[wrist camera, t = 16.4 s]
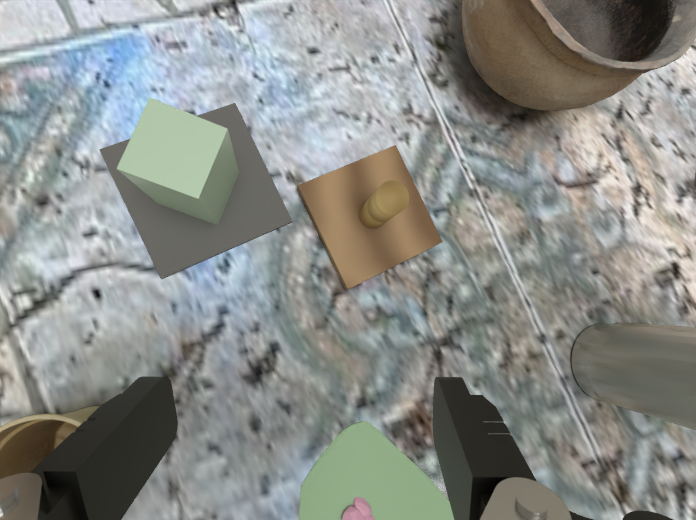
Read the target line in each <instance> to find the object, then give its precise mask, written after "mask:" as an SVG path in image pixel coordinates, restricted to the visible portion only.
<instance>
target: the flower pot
mask: <svg viewBox="0 0 696 520" xmlns="http://www.w3.org/2000/svg"><path fill="white" fill-rule="evenodd" d="M99 407H100V406H91V407H86V408H83V409H80V410H77V411H73V412H70V413H66V414H62V415H59V414H36V415H31V416H26V417H23V418H19V419H16V420H14V421H11V422H9V423H7V424H5V425H3V426H1V427H0V479H3V478H5V477H8V476H11V475H15V474H20V473H30V472H31V471H32V470H33V469H34V468H35V467H36V466H37V465H38V464H39V463H40V462H41V461H42V460H44V459H45V458H46V457H47V456H48V455H49V454H50V453H51V452H52V451H53V450H54V449H55V448H56V447H57V446H58V445H59V444H61V443H62V442H63V441H64V440H65V439H66V438H67V437H68V436H69V435H70V434H71V433H72V432H75V430H76V428H78V427H79V426H80V425H81V424H82V423H83V422H84V421H87V418H88V417H89V416H90V415H91V414H92V413H93V412H95V411H96V410H97V409H98V408H99Z"/></svg>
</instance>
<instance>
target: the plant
mask: <svg viewBox="0 0 696 520" xmlns="http://www.w3.org/2000/svg"><path fill="white" fill-rule="evenodd" d="M299 520H454V517H453V513H452V509H451V505H450V501H449V500H448V499H447V498H446V497H445V495H444V494H443V493H442V492H441V491H440V490H439V489H438V487H437V486H436V485H435V484H434V483H433V482H432V481H431V479H430V478H429V477H428V476H427V475H426V474H425V473H424V472H422V471H421V470H420V469H419V468H418V467H417V466H416V465H415V464H414V463H413V462H412V461H411V460H410V459H409V458H407V457H406V456H405V455H404V454H403V453H402V452H401V451H400V450H399V449H398V448H397V447H396V446H395V445H394V444H392V443H391V442H390V441H389V440H388V439H387V438H386V437H385V436H384V435H383V434H382V433H381V432H380V431H378V430H377V429H376V428H375V427H373V426H372V425H371V424H370V423H368V422H367V421H363V422H358V423H355V424H352V425H350V426H348V427H347V428H346V429H344V430H343V431H342V432H341V433H340V434H339V435H338V436H337V437H336V438H335V439H334V440H333V441H332V443H331V444H330V445H329V446H328V448H327V449H326V450H325V451H324V453H323V454H322V455H321V456H320V458H319V459H318V461H317V462H316V463H315V465H314V466H313V468H312V469H311V471H310V472H309V474H308V475H307V477H306V478H305V480H304V482H303V484H302V485H301V496H300V510H299Z"/></svg>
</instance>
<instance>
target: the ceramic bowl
mask: <svg viewBox="0 0 696 520" xmlns="http://www.w3.org/2000/svg"><path fill="white" fill-rule="evenodd" d="M462 30H463V38H464V42H465V47H466V50H467V54H468V57H469V59H470V62H471V64H472V66H473V67H474V69H475V70H476V71H477V73H478V74H479V76H480V77H481V78H482V79H483V80H484V81H485V83H486V84H487V85H489V86H490V87H491V88H492V90H494V91H495V92H496V93H497V94H499V95H500V96H502V97H504V98H505V99H507V100H508V101H510V102H512V103H514V104H517V105H519V106H523V107H527V108H533V109H537V110H563V109H577V108H582V107H585V106H588V105H591V104H594V103H596V102H598V101H601V100H603V99H606V98H608V97H611V96H612V95H614V94H616V93H617V92H619V91H621V90H622V89H624V88H625V87H626V86H628V85H629V84H631V83H632V82H633V81H634V80H635V79H636V78H638V77H639V76H640V75H641V74H642V73H646V72H648V71H650V70H654V69H657V68H660V67H663V66H666V65H667V64H669V63H670V62H672V61H675V60H677V59H679V58H680V57H681V56H682V55H683V54H684V53H685V52H686V51H687V50H688V49H689V47H690V46H691V45H692V43H693V42H694V40H695V38H696V0H462Z"/></svg>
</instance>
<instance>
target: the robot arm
mask: <svg viewBox="0 0 696 520" xmlns="http://www.w3.org/2000/svg"><path fill="white" fill-rule="evenodd" d="M572 369H573V373H574V376H575V379H576V381H577V383H578V384H579V386H580V388H581V389H582V390H583V391H584V392H585V393H586V394H588V395H589V396H590V397H592V398H595V399H597V400H600V401H603V402H606V403H610V404H613V405H616V406H619V407H623V408H626V409H629V410H632V411H635V412H639V413H642V414H645V415H648V416H652V417H655V418H658V419H662V420H665V421H668V422H671V423H675V424H678V425H681V426H684V427H688V428H691V429H694V430H696V327H682V326H666V325H651V324H635V323H617V324H615V325H614V324H596V325H592V326H590V327H588V328H587V329H585V330H584V331H583V332H582V333H581V334H580V335H579V337H578V338H577V340H576V342H575V344H574V347H573V351H572ZM176 432H177V415H176V409H175V403H174V397H173V391H172V385H171V381H170V379H169V378H168V377H140V378H138V379H137V380H136V381H135V382H134V383H133V384H132V385H131V386H130V387H129V388H128V389H127V390H126V391H125V392H124V393H123V394H119V395H117V396H116V397H114V398H112V399H111V400H109V401H107V402H106V403H104V404H102V405H101V406H100V407H99V408H98V409H97V410H96V411H95V412H93V413H92V414H91V415H90V416H89V417H88V418H87V421H84V422H83V423H82V424H81V425H80V426H79V427H78V428H76V430H75V432H72V433H71V434H70V435H69V436H68V437H67V438H66V439H65V440H64V441H63V442H62V443H61V444H59V445H58V446H57V447H56V448H55V449H54V450H53V451H52V452H51V453H50V454H49V455H48V456H47V457H46V458H45V459H44V460H42V461H41V462H40V463H39V464H38V465H37V466H36V467H35V468H34V469H33V470H32V471H31V472H30V473H20V474H15V475H11V476H8V477H5V478H3V479H0V520H121V519H122V517H123V516H124V514H125V513H126V511H127V510H128V508H129V507H130V505H131V504H132V502H133V501H134V499H135V498H136V496H137V495H138V493H139V492H140V490H141V489H142V487H143V486H144V484H145V483H146V481H147V480H148V479H149V477H150V476H151V474H152V473H153V471H154V470H155V468H156V467H157V465H158V464H159V462H160V461H161V459H162V458H163V456H164V455H165V453H166V452H167V450H168V449H169V447H170V446H171V444H172V442H173V440H174V438H175V435H176ZM433 437H434V443H435V448H436V451H437V455H438V459H439V463H440V467H441V471H442V474H443V478H444V482H445V486H446V490H447V494H448V497H449V501H450V505H451V509H452V513H453V517H454V520H593V519H589V518H586V517H583V516H580V515H577V514H575V513H573V512H571V511H569V510H568V508H567V506H566V505H565V503H564V502H563V501H562V500H561V498H560V497H559V496H558V495H557V494H555V493H554V492H553V491H552V490H550V489H549V488H547V487H546V486H544V485H542V484H540V483H538V482H537V481H536V479H535V477H534V476H533V474H532V472H531V470H530V468H529V467H528V465H527V463H526V461H525V459H524V457H523V456H522V454H521V452H520V450H519V448H518V446H517V445H516V443H515V441H514V439H513V437H512V436H510V432H509V430H508V428H507V426H506V425H505V424H504V422H503V419H502V417H501V416H500V414H499V412H498V410H497V408H496V407H495V406H494V405H493V404H492V403H491V402H489V401H488V400H487V399H486V398H485V397H484V396H482V395H470V393H469V391H468V389H467V387H466V385H465V383H464V380H463V379H462V378H461V377H436V378H435V382H434V401H433ZM623 520H673V519H671V518H668V517H666V516H663V515H661V514H658V513H654V512H649V511H633V512H630V513H628V514H627V515H625V516H624V518H623Z"/></svg>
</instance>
